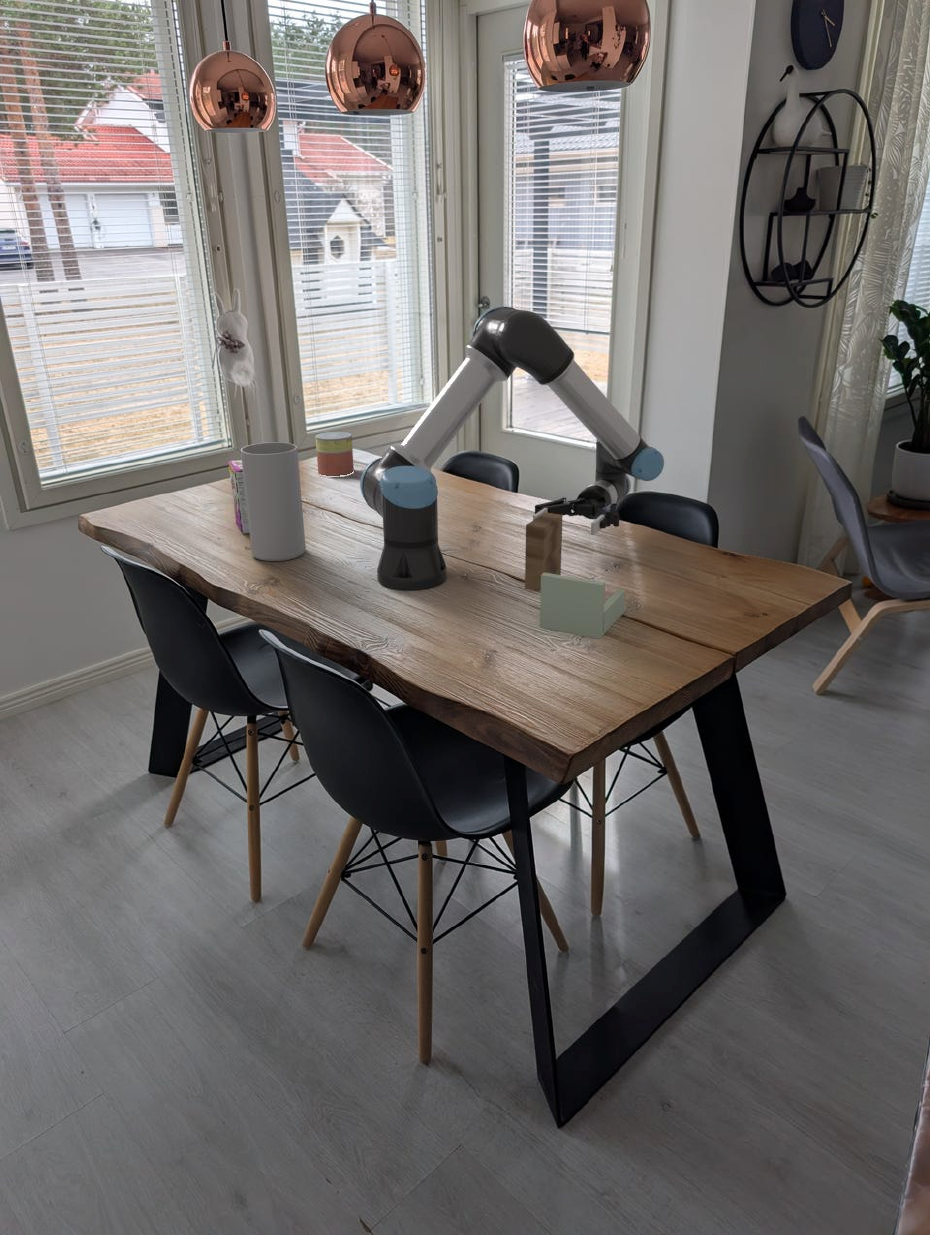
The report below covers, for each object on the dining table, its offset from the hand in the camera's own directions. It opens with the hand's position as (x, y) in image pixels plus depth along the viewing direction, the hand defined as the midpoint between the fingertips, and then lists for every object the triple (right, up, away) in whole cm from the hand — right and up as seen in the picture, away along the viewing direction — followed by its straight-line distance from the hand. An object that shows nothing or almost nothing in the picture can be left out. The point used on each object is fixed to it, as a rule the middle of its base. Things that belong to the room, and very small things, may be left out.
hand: (563, 525), depth 198 cm
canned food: (-62, +25, +86) cm, 109 cm away
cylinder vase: (-65, -5, +15) cm, 67 cm away
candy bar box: (-77, +3, +34) cm, 85 cm away
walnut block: (-5, -13, -4) cm, 14 cm away
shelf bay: (+2, -20, -22) cm, 30 cm away
